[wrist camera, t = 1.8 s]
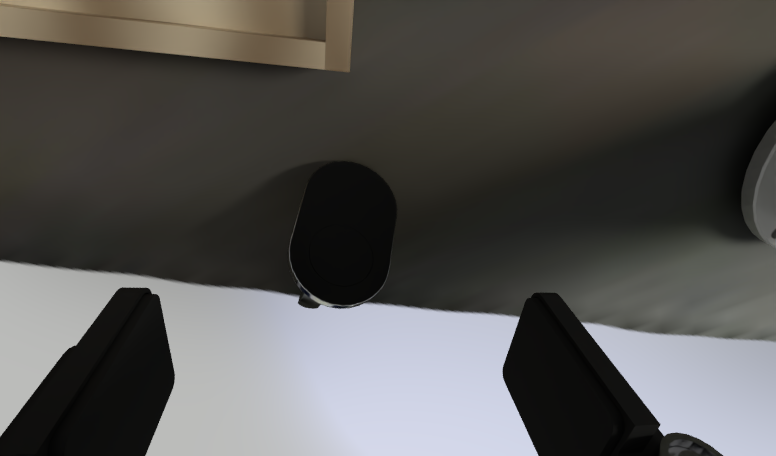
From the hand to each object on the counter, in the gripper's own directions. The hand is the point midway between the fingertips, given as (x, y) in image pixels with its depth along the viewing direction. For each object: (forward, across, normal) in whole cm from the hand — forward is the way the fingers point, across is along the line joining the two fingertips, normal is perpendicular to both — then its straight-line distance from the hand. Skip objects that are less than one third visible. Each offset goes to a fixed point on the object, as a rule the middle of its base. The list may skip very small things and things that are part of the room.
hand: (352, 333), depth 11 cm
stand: (+15, 0, +3) cm, 15 cm away
